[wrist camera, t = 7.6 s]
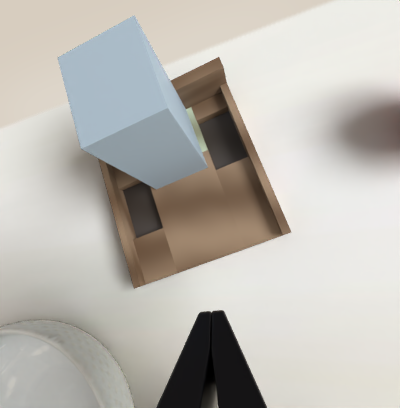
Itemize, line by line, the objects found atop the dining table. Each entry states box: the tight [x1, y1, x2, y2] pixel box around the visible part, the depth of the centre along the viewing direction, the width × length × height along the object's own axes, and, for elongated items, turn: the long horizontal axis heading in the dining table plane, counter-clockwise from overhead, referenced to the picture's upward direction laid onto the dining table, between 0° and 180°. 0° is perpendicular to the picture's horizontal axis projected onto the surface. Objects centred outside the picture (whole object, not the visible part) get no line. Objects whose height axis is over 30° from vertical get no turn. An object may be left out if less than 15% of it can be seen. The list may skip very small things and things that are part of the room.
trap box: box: [98, 57, 291, 288], centre depth 21 cm, size 14×13×4 cm
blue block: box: [58, 16, 208, 189], centre depth 18 cm, size 6×5×10 cm
